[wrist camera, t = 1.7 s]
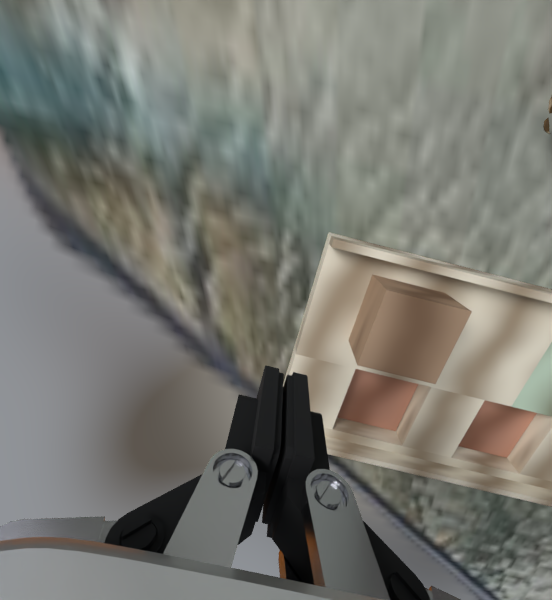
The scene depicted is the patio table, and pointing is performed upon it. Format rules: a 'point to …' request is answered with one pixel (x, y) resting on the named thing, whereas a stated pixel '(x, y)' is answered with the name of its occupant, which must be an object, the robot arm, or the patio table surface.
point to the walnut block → (406, 329)
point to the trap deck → (450, 385)
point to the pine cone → (546, 122)
